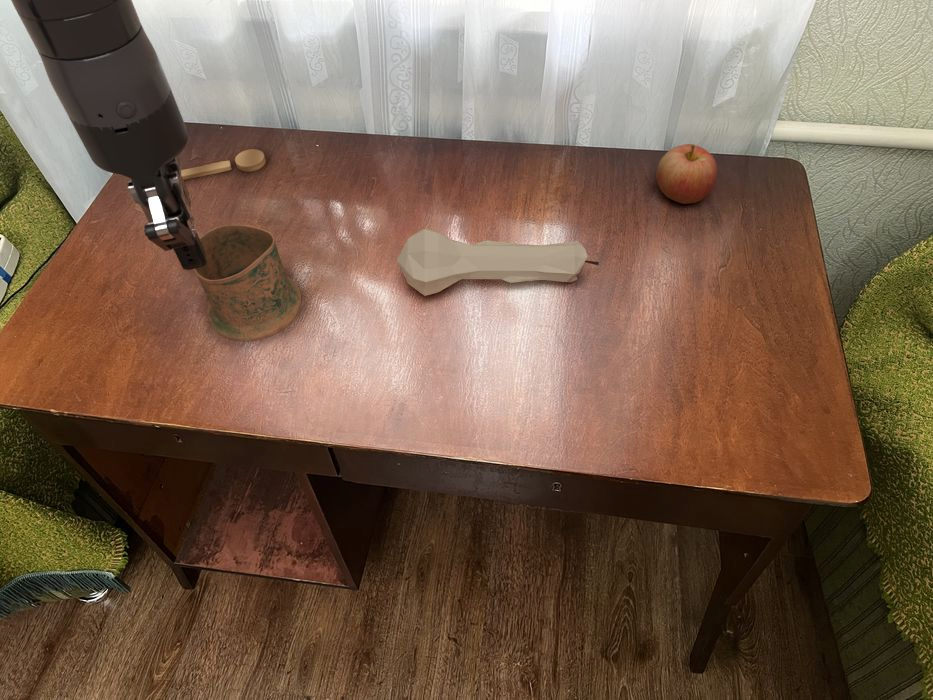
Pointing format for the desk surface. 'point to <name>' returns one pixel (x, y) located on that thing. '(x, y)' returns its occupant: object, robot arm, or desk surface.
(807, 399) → the desk surface
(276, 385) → the desk surface
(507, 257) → the faceted club
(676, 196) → the apple
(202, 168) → the spoon
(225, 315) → the mug
